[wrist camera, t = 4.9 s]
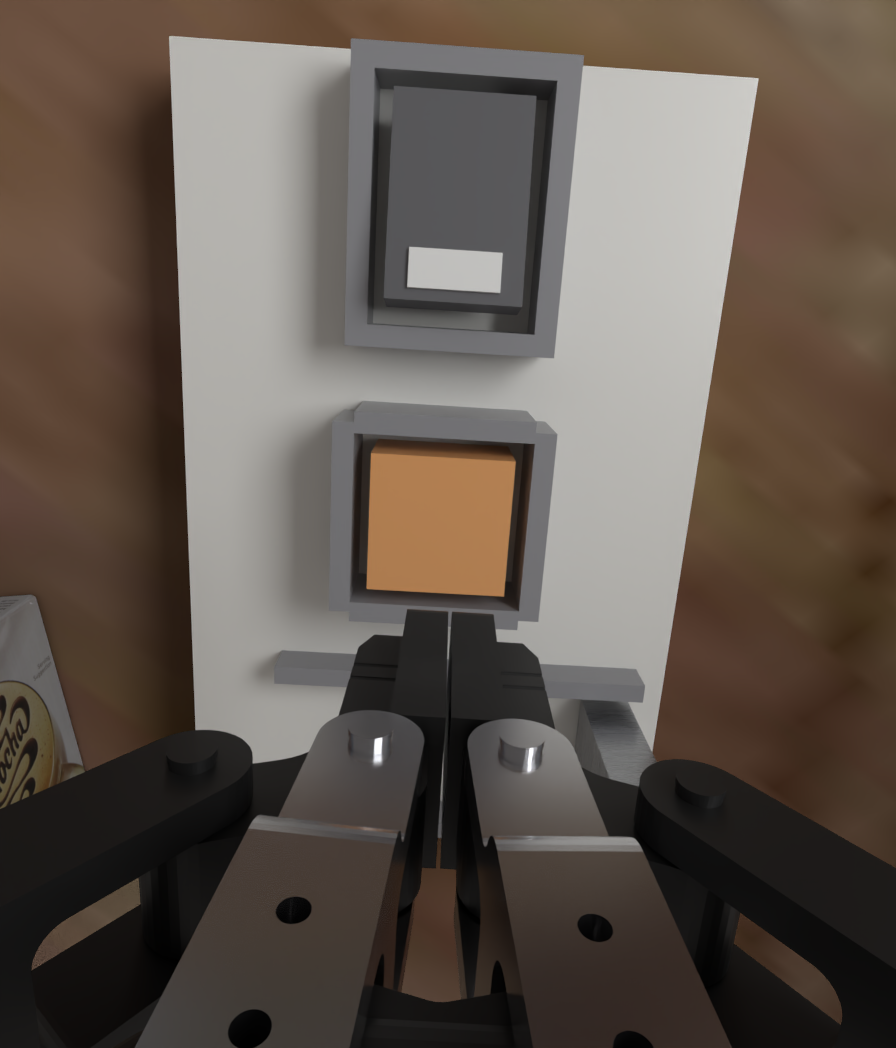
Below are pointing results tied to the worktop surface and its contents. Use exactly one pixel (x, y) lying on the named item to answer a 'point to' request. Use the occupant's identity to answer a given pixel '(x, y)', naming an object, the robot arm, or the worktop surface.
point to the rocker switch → (458, 200)
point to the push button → (439, 517)
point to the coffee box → (31, 707)
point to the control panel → (439, 365)
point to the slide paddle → (611, 741)
